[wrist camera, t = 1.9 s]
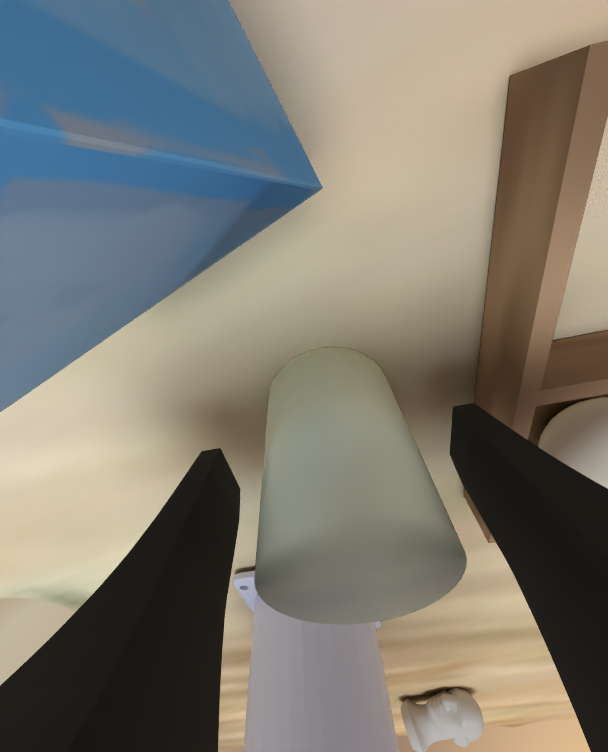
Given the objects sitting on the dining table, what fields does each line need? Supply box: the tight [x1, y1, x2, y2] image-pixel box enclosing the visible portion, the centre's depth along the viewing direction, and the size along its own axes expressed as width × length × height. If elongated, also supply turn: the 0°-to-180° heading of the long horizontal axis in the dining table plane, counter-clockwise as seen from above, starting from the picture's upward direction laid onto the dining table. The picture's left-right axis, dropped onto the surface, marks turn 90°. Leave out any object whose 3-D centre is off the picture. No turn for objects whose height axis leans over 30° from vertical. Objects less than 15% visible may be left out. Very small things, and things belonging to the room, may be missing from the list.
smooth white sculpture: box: [401, 688, 484, 752], centre depth 33 cm, size 4×8×5 cm
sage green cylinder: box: [254, 347, 467, 625], centre depth 10 cm, size 5×5×6 cm
